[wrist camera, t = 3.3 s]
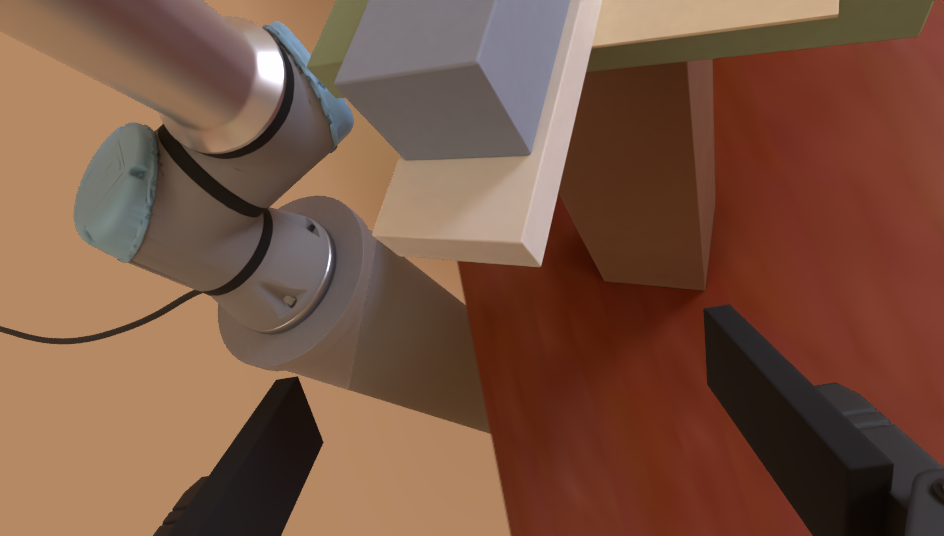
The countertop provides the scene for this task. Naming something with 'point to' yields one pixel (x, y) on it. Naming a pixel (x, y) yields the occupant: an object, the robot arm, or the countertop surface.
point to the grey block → (471, 119)
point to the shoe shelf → (662, 114)
